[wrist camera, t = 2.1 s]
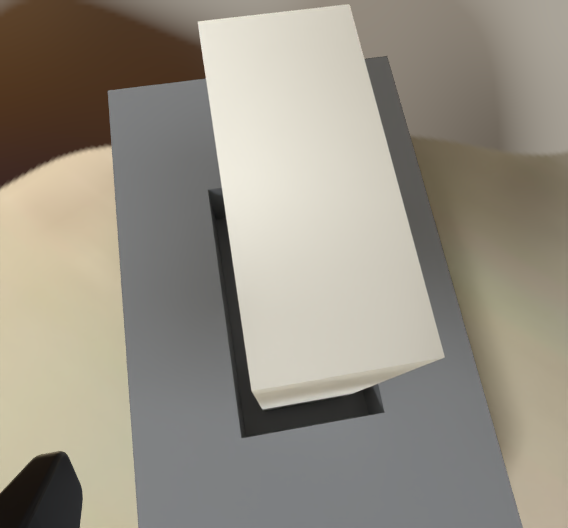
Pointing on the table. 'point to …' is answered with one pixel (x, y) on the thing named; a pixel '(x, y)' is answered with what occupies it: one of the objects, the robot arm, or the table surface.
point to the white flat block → (312, 209)
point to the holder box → (234, 369)
